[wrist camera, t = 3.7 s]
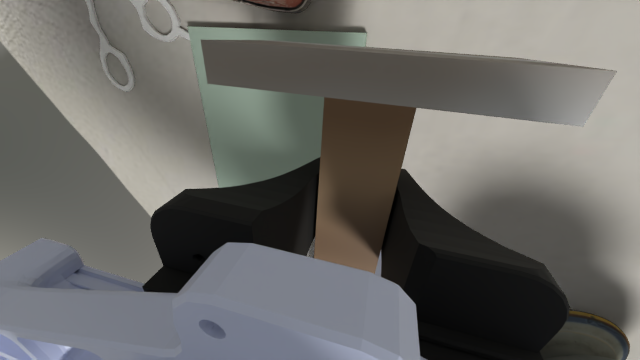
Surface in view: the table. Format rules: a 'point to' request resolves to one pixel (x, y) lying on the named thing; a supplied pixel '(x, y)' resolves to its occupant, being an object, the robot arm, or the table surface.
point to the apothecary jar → (587, 340)
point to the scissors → (139, 4)
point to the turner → (392, 115)
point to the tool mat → (261, 113)
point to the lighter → (279, 5)
